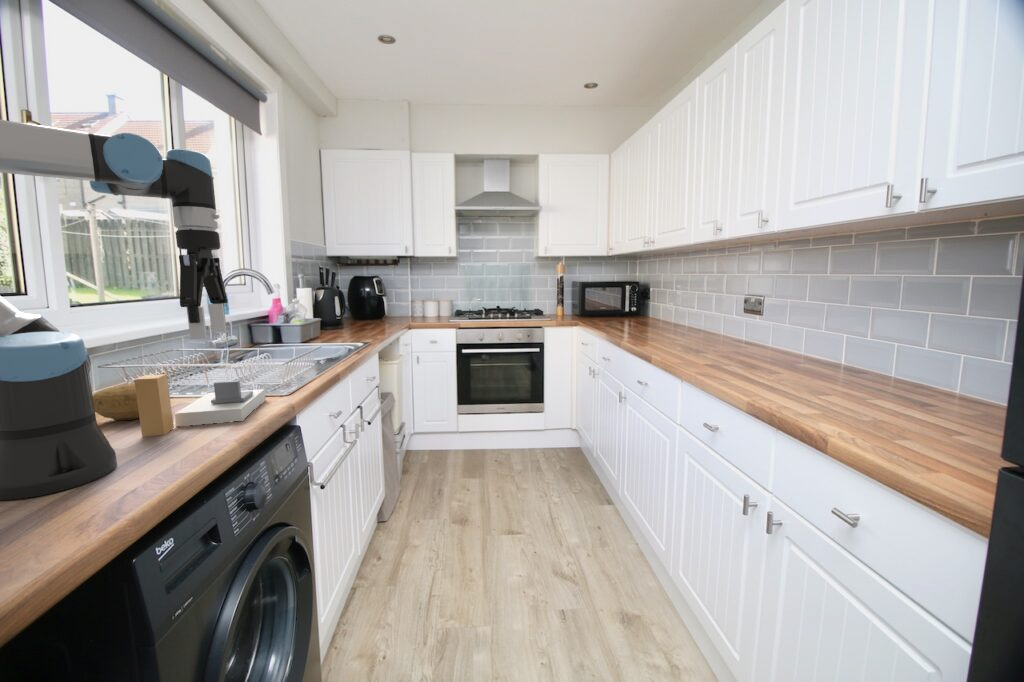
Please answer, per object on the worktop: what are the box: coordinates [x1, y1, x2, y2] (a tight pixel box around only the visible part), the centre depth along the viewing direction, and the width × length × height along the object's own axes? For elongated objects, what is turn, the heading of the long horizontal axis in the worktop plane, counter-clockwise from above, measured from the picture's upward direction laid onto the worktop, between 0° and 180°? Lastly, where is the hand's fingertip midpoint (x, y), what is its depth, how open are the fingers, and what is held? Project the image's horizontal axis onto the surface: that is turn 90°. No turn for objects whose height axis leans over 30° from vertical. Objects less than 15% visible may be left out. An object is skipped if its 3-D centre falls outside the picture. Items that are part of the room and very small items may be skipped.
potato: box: [93, 383, 140, 421], centre depth 104 cm, size 10×14×8 cm
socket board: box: [174, 388, 266, 427], centre depth 108 cm, size 18×13×3 cm
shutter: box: [211, 380, 253, 404], centre depth 108 cm, size 7×7×5 cm
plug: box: [133, 373, 175, 437], centre depth 94 cm, size 4×4×12 cm
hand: (209, 335), depth 97 cm, fingers open, 10 cm apart
